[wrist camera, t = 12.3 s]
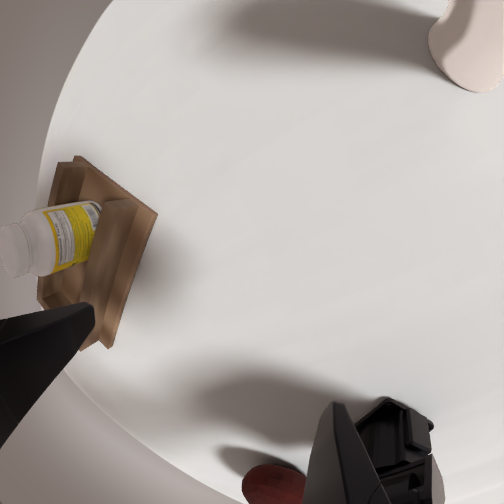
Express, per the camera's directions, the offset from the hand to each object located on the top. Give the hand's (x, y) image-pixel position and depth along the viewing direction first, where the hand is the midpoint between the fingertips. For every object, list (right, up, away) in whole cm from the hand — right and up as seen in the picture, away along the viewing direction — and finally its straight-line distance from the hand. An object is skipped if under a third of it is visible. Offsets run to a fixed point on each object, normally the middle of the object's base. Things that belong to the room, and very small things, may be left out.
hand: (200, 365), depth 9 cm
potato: (+6, -21, +16) cm, 28 cm away
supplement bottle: (-13, +6, +16) cm, 21 cm away
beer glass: (+17, +17, +3) cm, 24 cm away
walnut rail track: (-15, +3, +18) cm, 23 cm away
